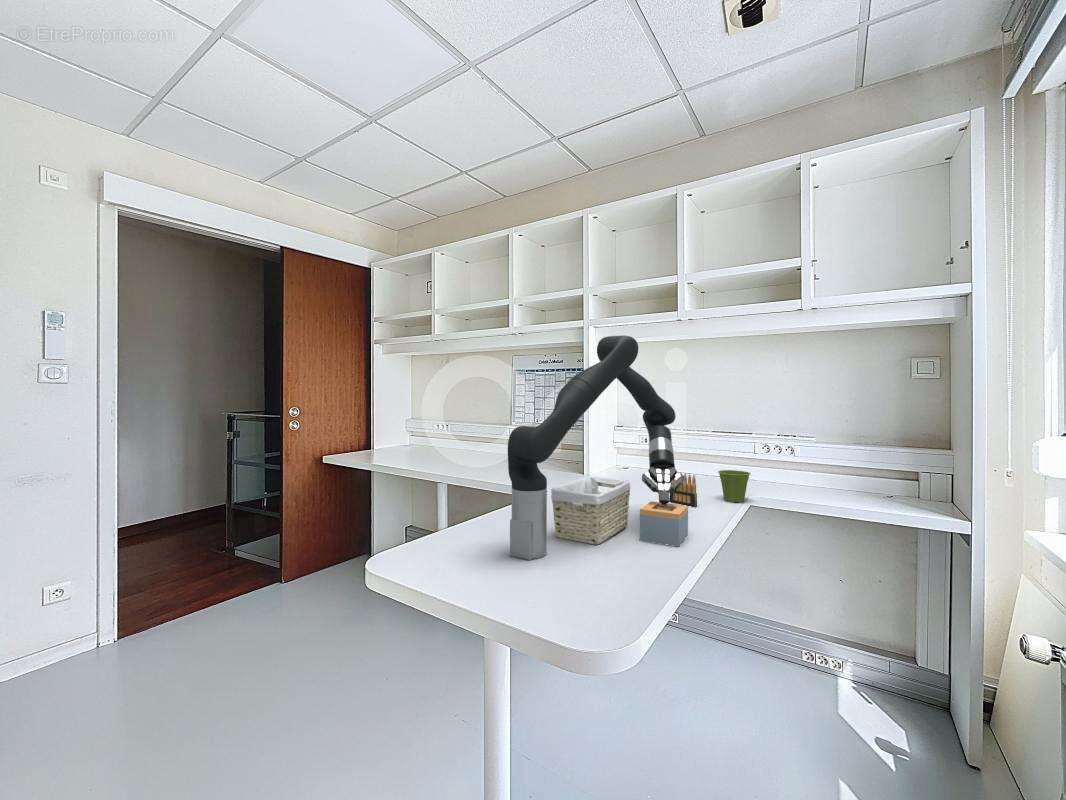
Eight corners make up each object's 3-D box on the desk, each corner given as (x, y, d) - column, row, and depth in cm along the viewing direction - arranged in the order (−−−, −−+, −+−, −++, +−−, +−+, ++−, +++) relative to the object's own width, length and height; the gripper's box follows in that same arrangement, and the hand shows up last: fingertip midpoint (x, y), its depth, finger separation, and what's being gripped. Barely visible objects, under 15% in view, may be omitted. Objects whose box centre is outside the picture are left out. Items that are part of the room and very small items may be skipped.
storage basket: (598, 548, 128) (598, 494, 128) (547, 537, 137) (548, 487, 137) (632, 527, 148) (632, 480, 148) (586, 519, 157) (586, 475, 157)
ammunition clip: (669, 502, 181) (669, 471, 181) (671, 501, 182) (672, 470, 182) (694, 507, 173) (695, 475, 173) (697, 506, 174) (697, 474, 174)
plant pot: (752, 499, 186) (752, 471, 186) (748, 505, 176) (748, 475, 176) (720, 496, 192) (720, 468, 192) (714, 502, 182) (715, 472, 182)
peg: (668, 541, 134) (668, 509, 134) (654, 539, 136) (654, 508, 136) (672, 537, 137) (672, 506, 137) (658, 535, 139) (658, 505, 139)
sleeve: (678, 547, 129) (679, 514, 129) (639, 540, 135) (639, 509, 134) (687, 536, 138) (688, 506, 138) (650, 530, 144) (651, 501, 144)
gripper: (640, 447, 147) (641, 495, 135) (684, 448, 144) (689, 497, 132) (639, 461, 152) (640, 509, 140) (682, 463, 150) (686, 511, 138)
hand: (664, 503), depth 136 cm, fingers closed
